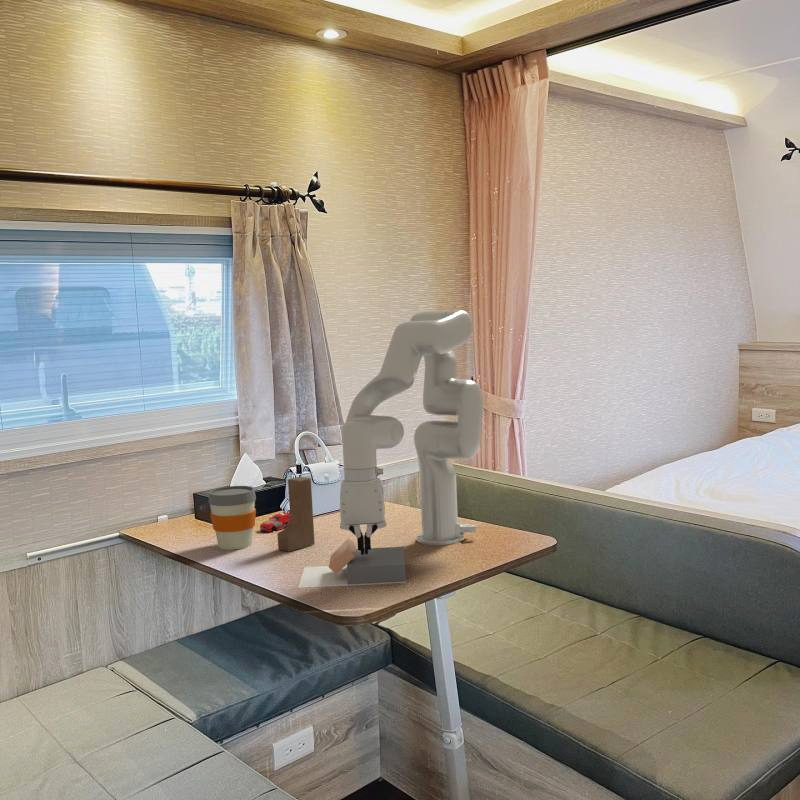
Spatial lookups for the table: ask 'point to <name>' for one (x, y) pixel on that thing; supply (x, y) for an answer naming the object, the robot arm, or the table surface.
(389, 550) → the grey flat block
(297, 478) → the wooden block
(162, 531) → the table surface
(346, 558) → the tile
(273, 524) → the race car
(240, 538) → the reusable coffee cup
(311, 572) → the mat
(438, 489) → the robot arm
